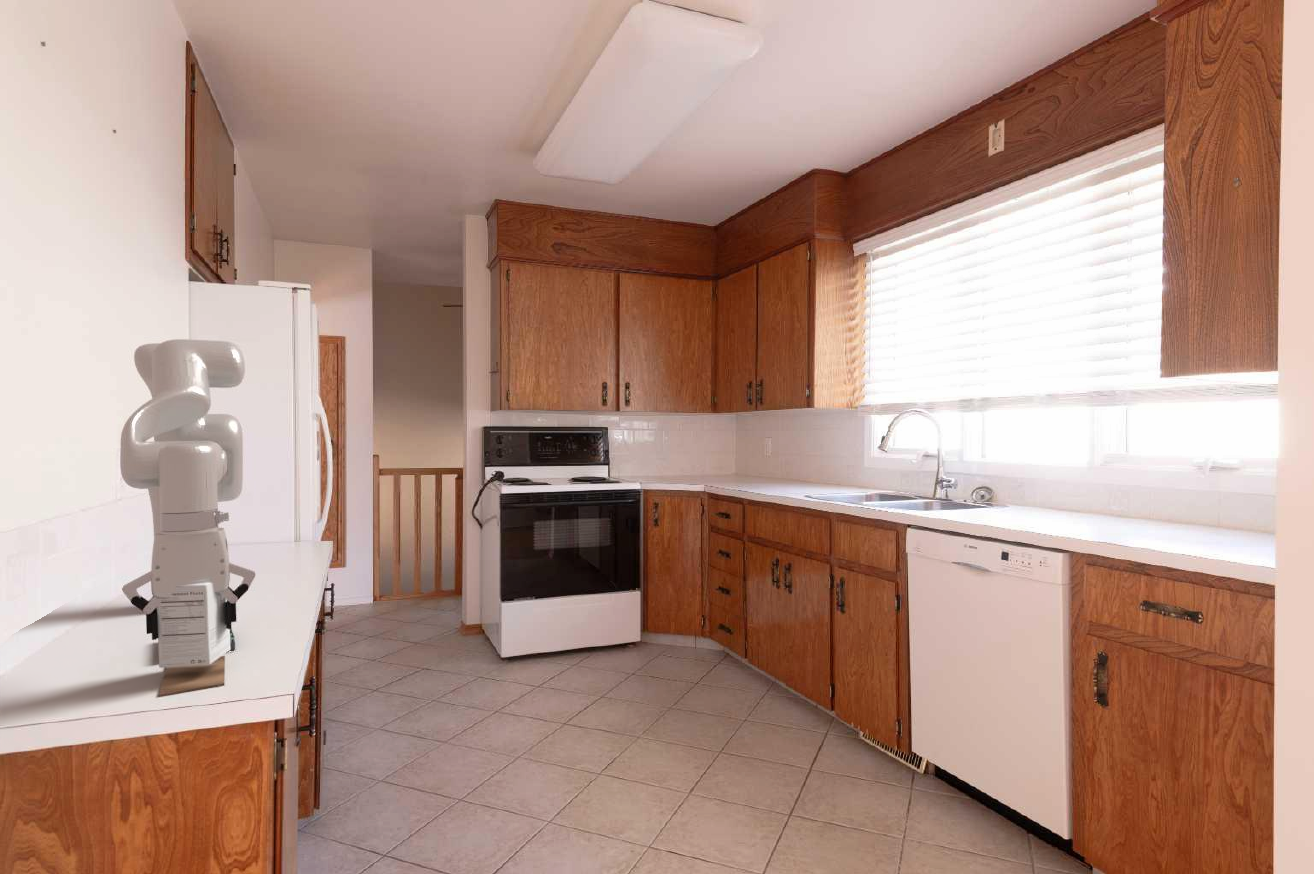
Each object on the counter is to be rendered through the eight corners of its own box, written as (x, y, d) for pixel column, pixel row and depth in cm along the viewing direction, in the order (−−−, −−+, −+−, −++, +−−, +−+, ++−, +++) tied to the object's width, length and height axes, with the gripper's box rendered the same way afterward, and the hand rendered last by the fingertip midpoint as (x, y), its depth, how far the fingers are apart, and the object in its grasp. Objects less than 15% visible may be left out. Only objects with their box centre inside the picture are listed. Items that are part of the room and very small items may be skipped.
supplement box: (183, 652, 114) (180, 575, 114) (232, 650, 115) (229, 573, 115) (156, 668, 107) (154, 585, 106) (209, 666, 108) (206, 583, 107)
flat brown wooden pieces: (177, 628, 137) (176, 626, 137) (225, 621, 141) (225, 619, 141) (159, 696, 102) (159, 694, 102) (224, 685, 106) (224, 683, 106)
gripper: (253, 515, 117) (256, 617, 118) (123, 524, 108) (127, 635, 109) (254, 520, 111) (257, 628, 111) (116, 530, 102) (120, 648, 102)
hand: (193, 632), depth 110 cm, fingers closed on supplement box, 9 cm apart
